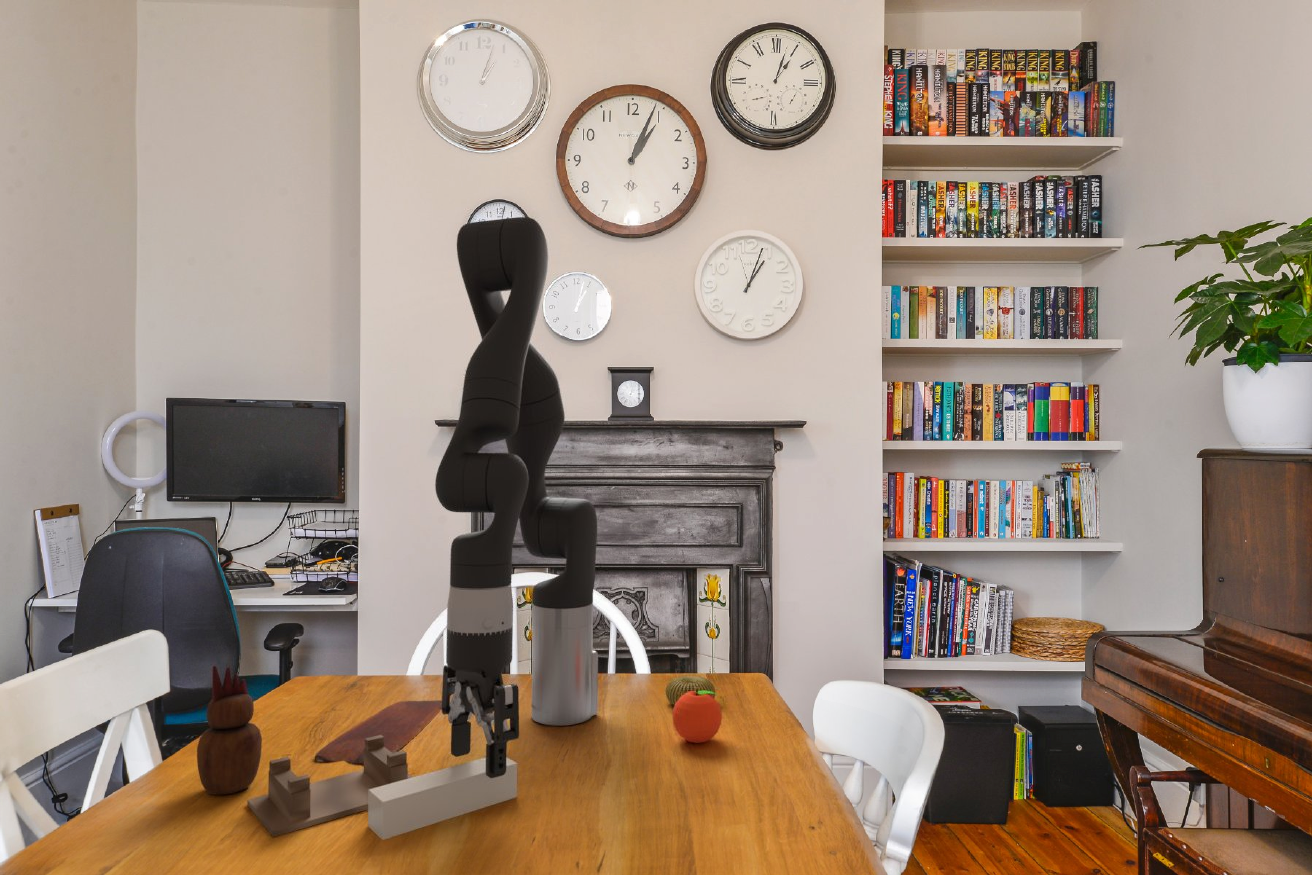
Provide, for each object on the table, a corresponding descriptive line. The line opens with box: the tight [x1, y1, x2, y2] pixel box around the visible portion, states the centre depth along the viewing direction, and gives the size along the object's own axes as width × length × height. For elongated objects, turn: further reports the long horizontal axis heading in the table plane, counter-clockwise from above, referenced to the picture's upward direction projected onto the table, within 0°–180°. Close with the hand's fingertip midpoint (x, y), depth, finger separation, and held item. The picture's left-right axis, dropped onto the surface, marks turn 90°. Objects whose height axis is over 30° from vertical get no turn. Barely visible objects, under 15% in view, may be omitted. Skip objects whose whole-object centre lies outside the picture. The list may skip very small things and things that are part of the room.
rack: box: [246, 735, 413, 838], centre depth 92 cm, size 17×10×5 cm, turn 131°
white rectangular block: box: [367, 756, 518, 841], centre depth 89 cm, size 16×4×4 cm, turn 131°
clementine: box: [671, 690, 727, 744], centre depth 111 cm, size 8×7×7 cm
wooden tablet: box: [314, 699, 442, 766], centre depth 116 cm, size 27×10×2 cm, turn 174°
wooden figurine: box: [196, 665, 263, 795], centre depth 95 cm, size 7×6×15 cm
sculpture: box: [665, 675, 716, 706], centre depth 128 cm, size 8×4×8 cm
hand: (477, 764), depth 92 cm, fingers open, 8 cm apart
